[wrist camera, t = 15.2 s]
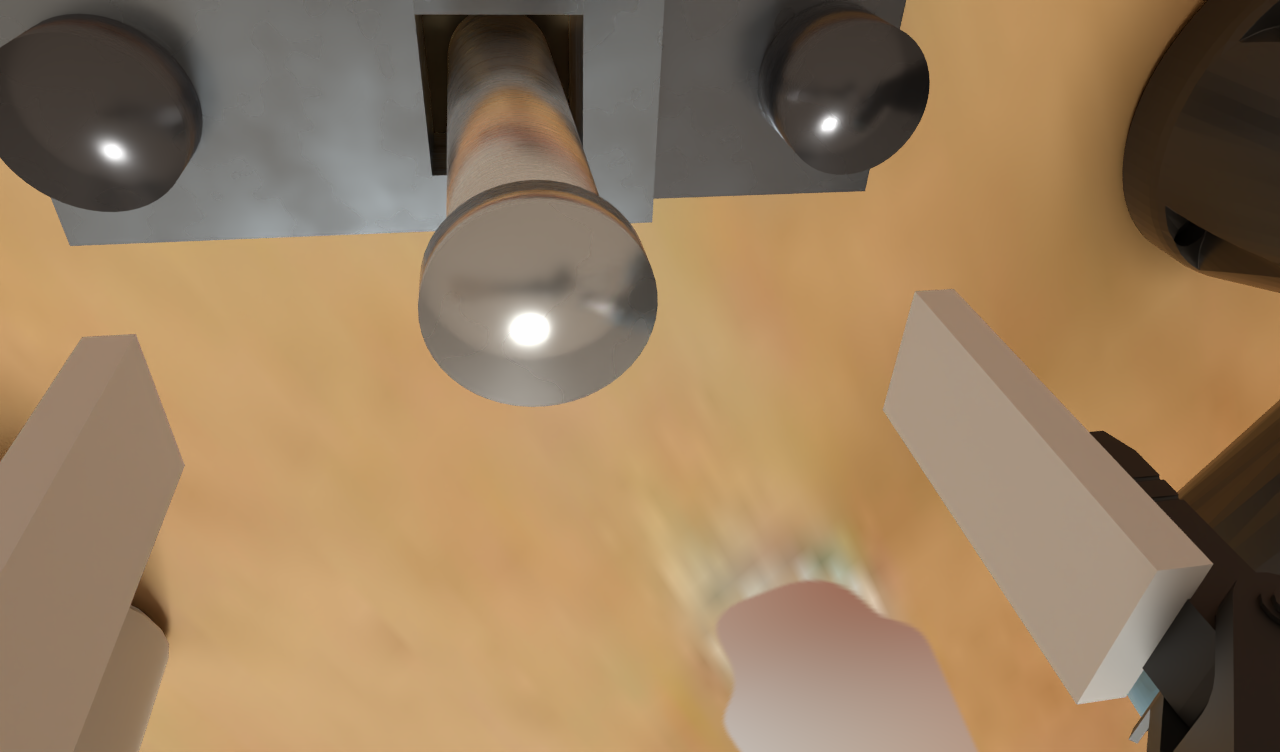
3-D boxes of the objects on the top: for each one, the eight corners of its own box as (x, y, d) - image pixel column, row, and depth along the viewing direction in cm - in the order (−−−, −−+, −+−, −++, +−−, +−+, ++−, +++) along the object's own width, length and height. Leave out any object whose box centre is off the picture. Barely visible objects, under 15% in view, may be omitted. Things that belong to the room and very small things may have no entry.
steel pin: (563, -9, 29) (664, 197, 15) (565, 123, 31) (651, 397, 18) (426, -10, 28) (404, 206, 14) (439, 126, 30) (431, 415, 17)
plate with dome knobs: (894, -73, 29) (979, -40, 25) (845, 171, 35) (908, 236, 30) (9, -92, 25) (-97, -56, 20) (110, 194, 30) (46, 276, 25)
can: (14, 570, 39) (-126, 830, 30) (188, 598, 42) (111, 842, 33) (-4, 666, 42) (-135, 926, 33) (158, 685, 46) (81, 929, 36)
